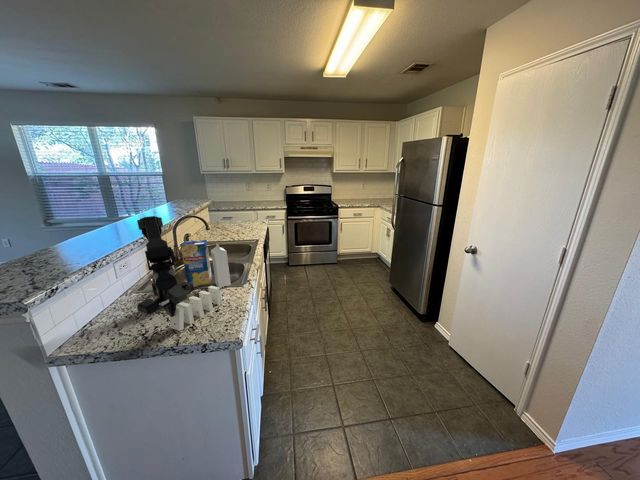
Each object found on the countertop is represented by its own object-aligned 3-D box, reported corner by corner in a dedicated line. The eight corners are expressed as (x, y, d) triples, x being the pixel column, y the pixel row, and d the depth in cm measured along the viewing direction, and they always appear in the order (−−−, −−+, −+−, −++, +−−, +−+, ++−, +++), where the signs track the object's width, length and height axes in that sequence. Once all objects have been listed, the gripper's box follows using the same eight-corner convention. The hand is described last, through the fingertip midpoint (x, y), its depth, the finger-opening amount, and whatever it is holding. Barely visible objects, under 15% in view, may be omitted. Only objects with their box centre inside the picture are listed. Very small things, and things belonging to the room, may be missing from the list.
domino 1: (169, 328, 98) (169, 308, 97) (174, 325, 100) (174, 306, 99) (179, 331, 96) (179, 310, 95) (183, 329, 98) (183, 309, 97)
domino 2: (181, 321, 103) (177, 304, 100) (185, 319, 104) (182, 301, 102) (190, 324, 101) (186, 307, 98) (194, 321, 102) (191, 304, 100)
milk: (219, 288, 129) (212, 247, 122) (215, 284, 133) (209, 244, 126) (231, 285, 132) (225, 245, 125) (227, 281, 137) (222, 242, 130)
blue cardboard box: (210, 283, 134) (204, 243, 128) (187, 285, 132) (180, 245, 125) (212, 277, 141) (206, 239, 134) (190, 280, 138) (183, 241, 132)
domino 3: (191, 315, 107) (188, 298, 105) (195, 312, 109) (192, 295, 106) (200, 317, 105) (197, 300, 103) (204, 315, 107) (201, 298, 104)
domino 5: (210, 303, 116) (207, 287, 113) (213, 301, 117) (211, 285, 115) (218, 305, 114) (216, 289, 111) (221, 303, 115) (219, 287, 113)
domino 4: (201, 308, 111) (198, 292, 109) (204, 306, 113) (202, 290, 111) (209, 311, 109) (207, 294, 107) (213, 309, 111) (210, 292, 109)
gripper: (153, 295, 80) (163, 337, 85) (201, 272, 96) (207, 308, 101) (131, 289, 84) (141, 329, 89) (181, 267, 100) (187, 302, 105)
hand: (172, 316), depth 96 cm, fingers closed
